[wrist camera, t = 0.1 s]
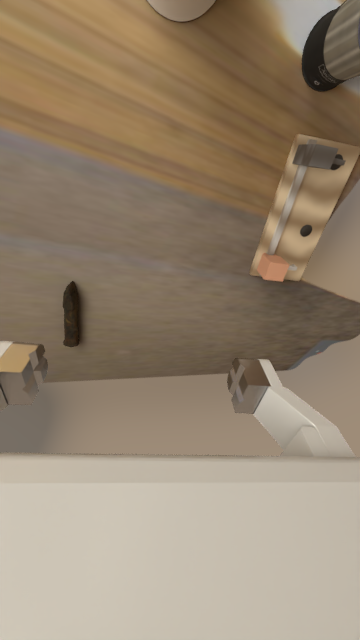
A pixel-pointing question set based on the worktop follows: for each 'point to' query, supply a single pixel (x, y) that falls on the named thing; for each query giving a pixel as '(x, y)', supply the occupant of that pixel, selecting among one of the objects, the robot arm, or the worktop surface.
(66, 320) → the hand tool
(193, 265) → the worktop surface
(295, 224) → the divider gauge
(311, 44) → the milk frother
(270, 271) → the block
